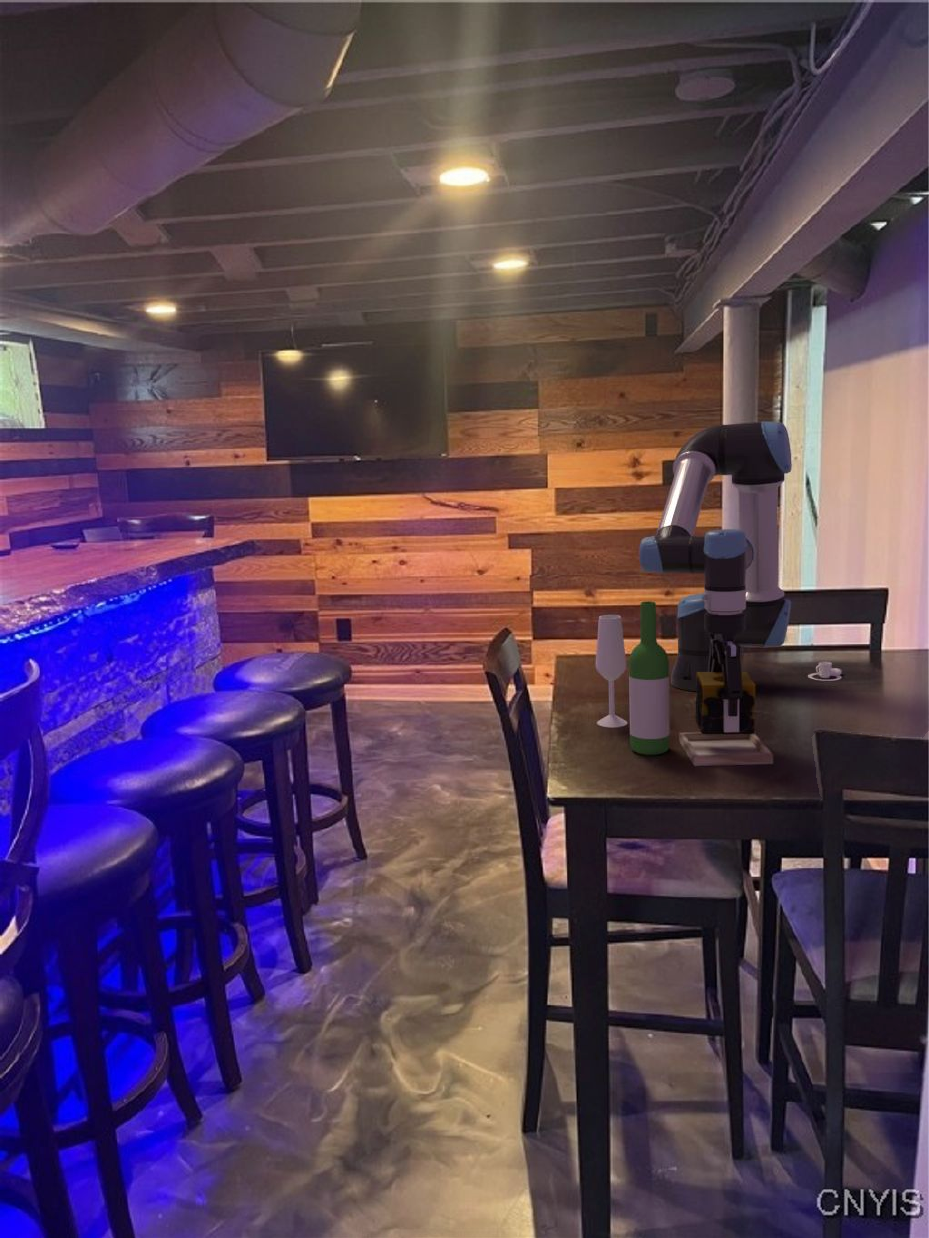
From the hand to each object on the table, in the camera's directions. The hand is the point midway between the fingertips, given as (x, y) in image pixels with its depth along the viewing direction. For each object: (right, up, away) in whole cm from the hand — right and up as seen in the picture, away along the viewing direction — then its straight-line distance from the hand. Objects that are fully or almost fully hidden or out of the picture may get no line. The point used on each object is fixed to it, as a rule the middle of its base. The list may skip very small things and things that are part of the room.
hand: (724, 722), depth 165 cm
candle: (0, -1, 0) cm, 1 cm away
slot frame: (0, -6, +1) cm, 6 cm away
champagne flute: (-18, -3, +23) cm, 29 cm away
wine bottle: (-13, -6, +4) cm, 16 cm away
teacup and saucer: (+44, +5, +50) cm, 67 cm away
